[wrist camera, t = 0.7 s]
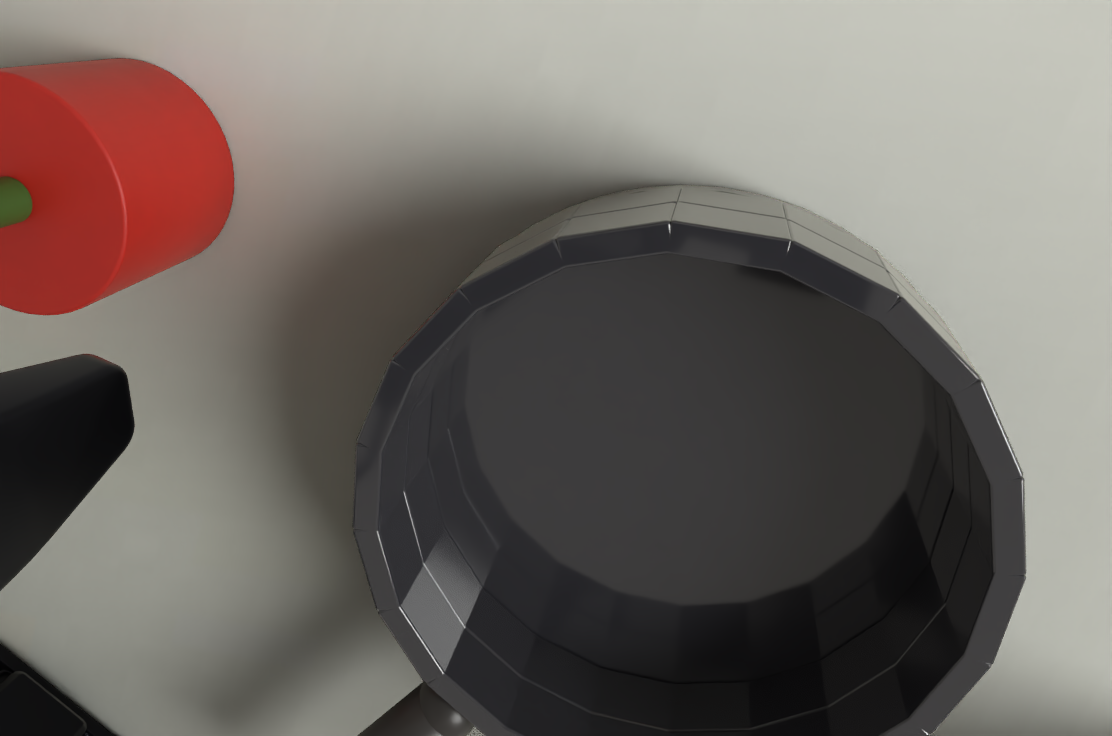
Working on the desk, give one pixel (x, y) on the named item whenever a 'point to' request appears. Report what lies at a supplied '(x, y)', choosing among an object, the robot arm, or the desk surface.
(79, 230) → the pepper
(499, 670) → the pan
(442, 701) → the pan handle
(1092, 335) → the desk surface
